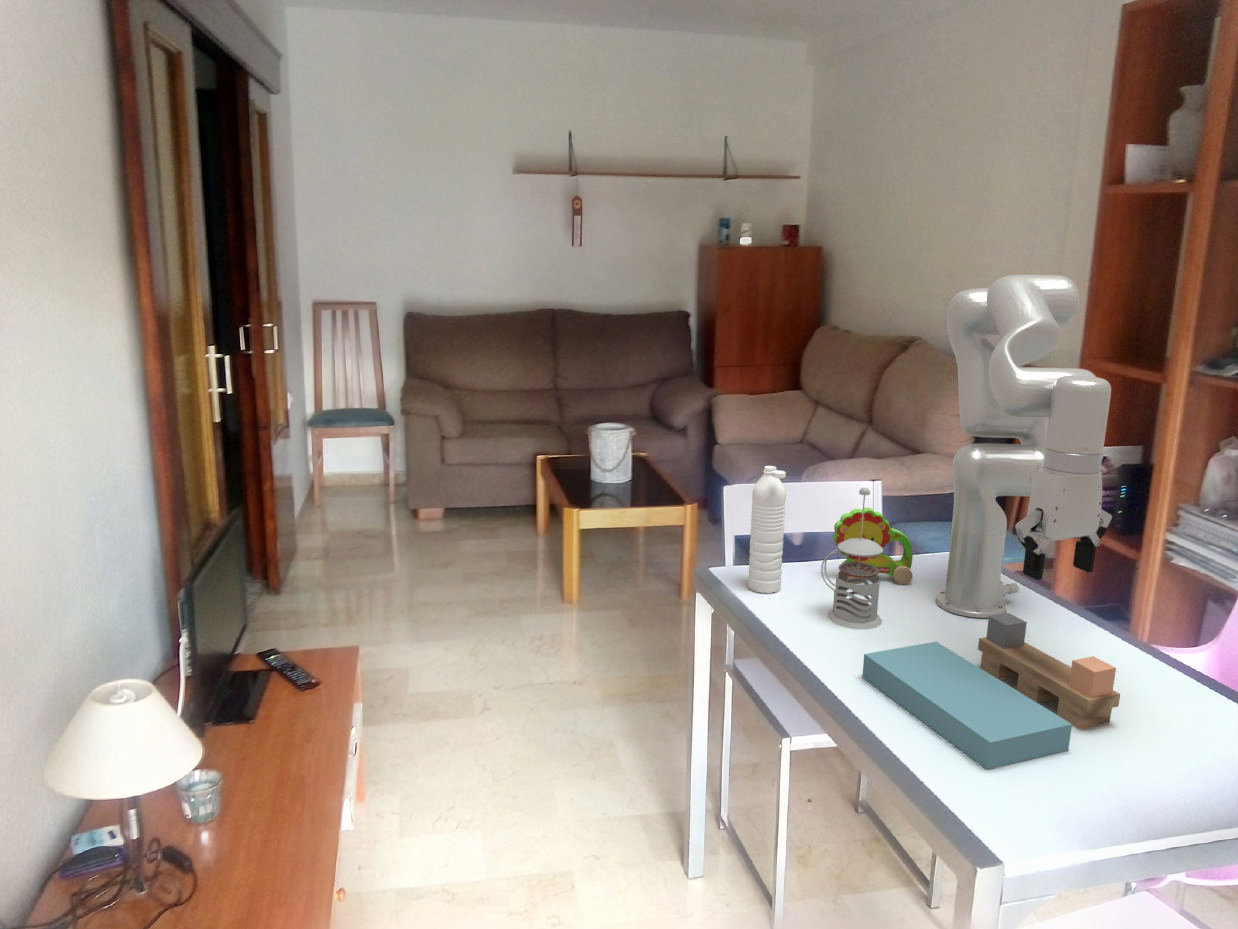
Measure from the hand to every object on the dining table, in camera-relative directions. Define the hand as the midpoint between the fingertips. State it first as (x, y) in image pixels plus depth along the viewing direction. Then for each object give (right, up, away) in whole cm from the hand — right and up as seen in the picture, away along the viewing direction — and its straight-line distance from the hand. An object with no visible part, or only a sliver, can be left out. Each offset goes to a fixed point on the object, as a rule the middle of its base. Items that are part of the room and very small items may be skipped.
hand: (1057, 573), depth 139 cm
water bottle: (-36, -9, +46) cm, 59 cm away
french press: (-23, -12, +33) cm, 42 cm away
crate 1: (-3, -13, +11) cm, 17 cm away
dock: (-15, -20, -1) cm, 25 cm away
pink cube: (+3, -16, -4) cm, 17 cm away
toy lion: (-14, -8, +52) cm, 54 cm away
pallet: (0, -19, +5) cm, 20 cm away
